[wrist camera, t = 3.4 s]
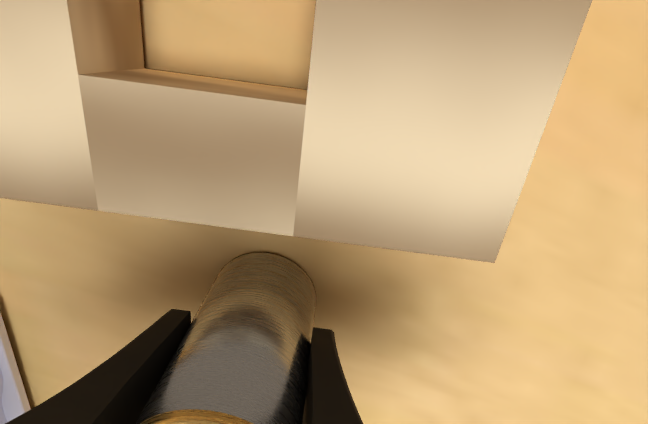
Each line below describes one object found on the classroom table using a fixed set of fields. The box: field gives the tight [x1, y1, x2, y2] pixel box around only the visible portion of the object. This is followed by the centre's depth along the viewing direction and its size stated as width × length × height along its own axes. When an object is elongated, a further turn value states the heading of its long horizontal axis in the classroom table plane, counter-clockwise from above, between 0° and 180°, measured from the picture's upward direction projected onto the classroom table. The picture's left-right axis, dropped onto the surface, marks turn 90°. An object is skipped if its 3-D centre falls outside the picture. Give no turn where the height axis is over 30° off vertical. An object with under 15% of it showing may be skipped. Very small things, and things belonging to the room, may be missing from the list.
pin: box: [135, 253, 316, 424], centre depth 11 cm, size 4×4×7 cm
